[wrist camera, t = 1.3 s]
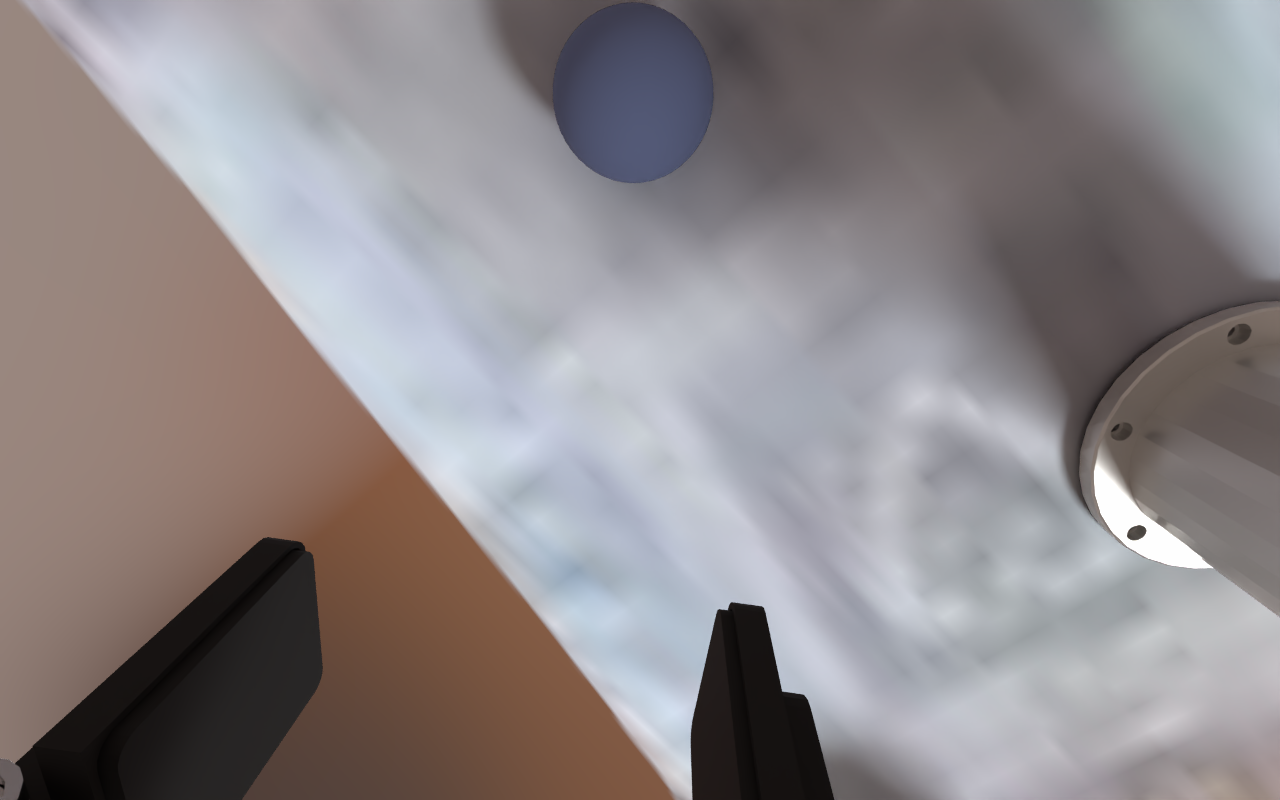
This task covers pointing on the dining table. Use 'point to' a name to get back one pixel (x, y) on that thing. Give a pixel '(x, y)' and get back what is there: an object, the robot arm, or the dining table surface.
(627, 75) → the dark blue ball
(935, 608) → the dining table surface
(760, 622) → the robot arm
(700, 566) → the dining table surface
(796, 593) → the dining table surface
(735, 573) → the dining table surface
